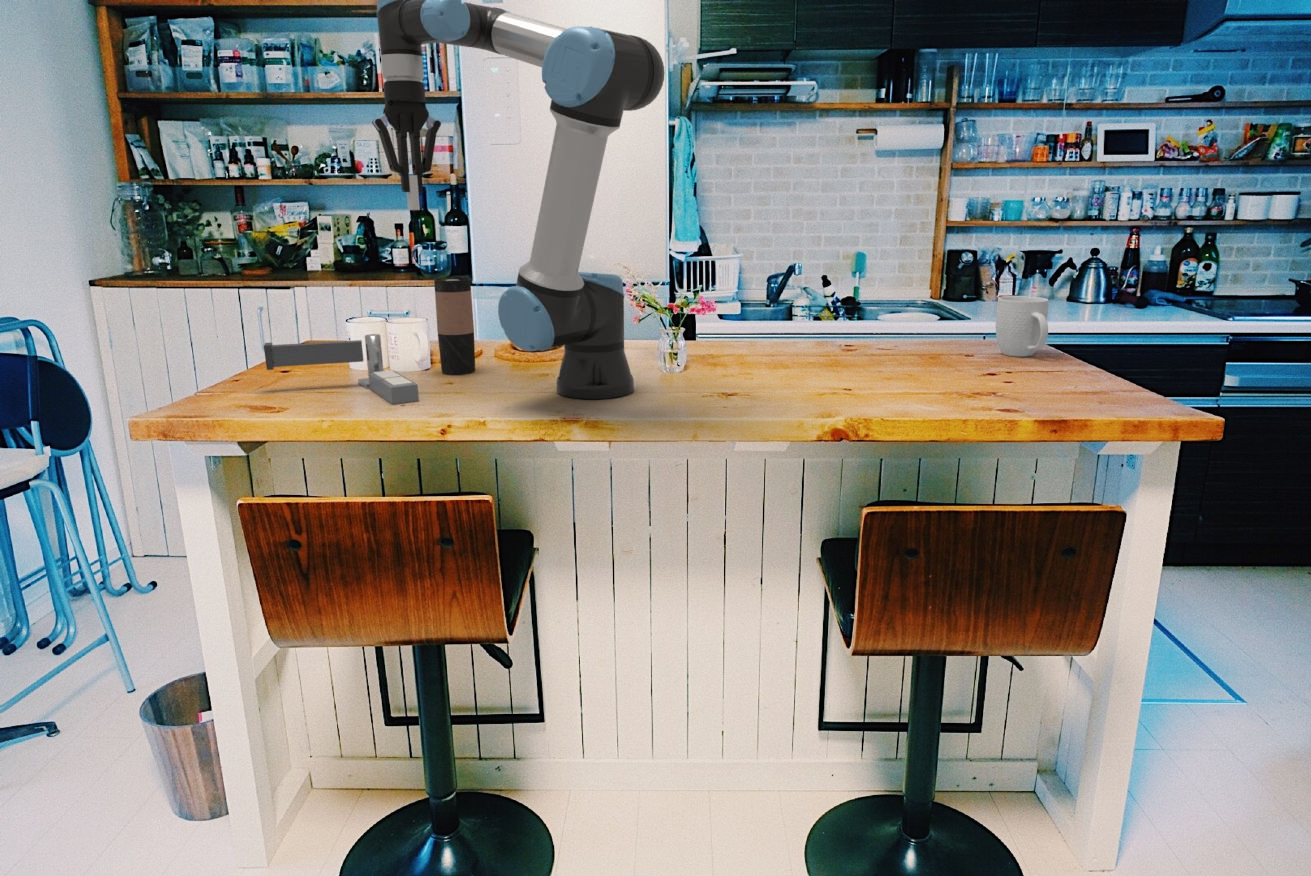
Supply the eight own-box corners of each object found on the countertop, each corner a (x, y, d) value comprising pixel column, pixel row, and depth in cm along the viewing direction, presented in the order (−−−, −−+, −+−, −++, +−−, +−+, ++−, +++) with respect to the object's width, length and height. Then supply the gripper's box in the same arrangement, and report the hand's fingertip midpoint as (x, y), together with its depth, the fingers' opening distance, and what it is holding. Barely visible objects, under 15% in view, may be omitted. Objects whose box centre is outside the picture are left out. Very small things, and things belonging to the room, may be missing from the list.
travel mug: (468, 376, 189) (461, 281, 183) (434, 374, 190) (427, 280, 184) (481, 368, 196) (476, 277, 190) (449, 367, 197) (443, 276, 192)
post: (358, 383, 182) (353, 334, 180) (387, 379, 186) (383, 332, 183) (366, 388, 178) (361, 339, 175) (396, 384, 181) (391, 336, 178)
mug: (1063, 361, 201) (1071, 303, 197) (1020, 363, 198) (1027, 304, 195) (1023, 349, 215) (1029, 294, 211) (982, 351, 212) (988, 296, 209)
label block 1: (370, 389, 177) (368, 372, 176) (395, 386, 180) (393, 369, 179) (381, 397, 171) (380, 379, 170) (407, 393, 173) (405, 376, 172)
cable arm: (363, 361, 181) (361, 337, 180) (363, 364, 178) (361, 340, 177) (268, 366, 176) (265, 342, 175) (266, 370, 173) (263, 345, 172)
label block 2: (380, 396, 171) (378, 378, 170) (405, 392, 174) (404, 375, 173) (392, 404, 165) (390, 386, 164) (418, 401, 167) (417, 382, 166)
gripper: (430, 84, 174) (439, 208, 181) (363, 81, 168) (375, 210, 174) (443, 81, 168) (452, 209, 175) (374, 77, 161) (386, 211, 168)
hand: (413, 209), depth 174 cm, fingers closed
